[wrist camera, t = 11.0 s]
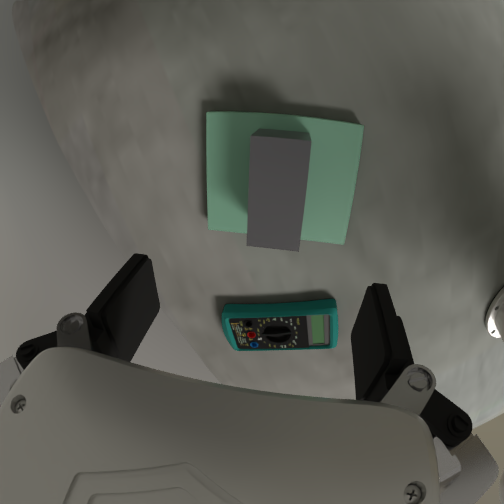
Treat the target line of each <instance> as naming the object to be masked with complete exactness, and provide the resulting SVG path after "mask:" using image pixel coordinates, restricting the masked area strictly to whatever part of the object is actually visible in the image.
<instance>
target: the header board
mask: <svg viewBox="0 0 504 504" xmlns="http://www.w3.org/2000/svg"><path fill="white" fill-rule="evenodd" d="M259 128H260V129H275V130H286V131H297V132H306V133H310V137H311V141H312V142H311V153H310V163H309V172H308V181H307V190H306V199H305V207H304V215H303V223H302V231H301V238H300V239H301V240H309V241H318V242H326V243H335V244H343V245H344V242H345V237H346V233H347V228H348V223H349V218H350V213H351V207H352V202H353V196H354V191H355V185H356V179H357V173H358V166H359V160H360V153H361V146H362V138H363V130H364V126H363V125H361V124H357V123H351V122H345V121H339V120H332V119H325V118H317V117H308V116H299V115H289V114H276V113H261V112H237V111H210V112H207V113H206V157H207V209H208V230H218V231H228V232H237V233H247V218H248V190H249V162H250V136H251V135H252V134H253V133H254V132H256V131H257V130H258V129H259Z"/></svg>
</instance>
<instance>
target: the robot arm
mask: <svg viewBox="0 0 504 504" xmlns="http://www.w3.org/2000/svg"><path fill="white" fill-rule="evenodd" d="M159 309H160V303H159V298H158V293H157V288H156V283H155V277H154V272H153V266H152V261H151V259H149V258H148V256H147V255H144V254H137V253H136V254H134V255H133V256H132V257H131V258H130V259H129V260H128V261H127V262H126V263H125V265H124V266H123V267H122V268H121V269H120V271H118V273H117V274H116V275H115V276H114V277H113V278H112V280H111V281H110V282H109V283H108V284H107V286H106V287H105V288H104V289H103V290H102V292H101V293H100V294H99V295H98V297H97V298H96V299H95V300H94V301H93V303H92V304H91V305H90V306H89V308H88V309H87V310H86V311H87V313H86V314H85V316H84V315H83V314H81V313H70V314H67V315H66V316H64V317H62V318H61V320H60V321H59V322H58V324H57V331H55V332H52V333H49V334H46V335H43V336H40V337H37V338H34V339H31V340H28V341H26V342H24V343H23V344H22V345H20V347H19V348H18V350H17V352H16V357H13V356H11V357H9V358H7V359H6V360H4V361H3V362H1V363H0V504H475V503H476V502H477V501H478V500H479V499H480V498H481V496H482V495H483V494H484V493H485V492H486V491H487V490H488V489H489V487H490V486H491V485H492V484H493V483H494V482H495V480H496V478H497V477H498V472H499V471H498V465H497V463H496V461H495V460H494V458H493V457H492V455H491V454H490V453H489V451H488V450H487V448H486V447H485V445H484V444H483V443H482V442H481V440H480V439H479V437H478V436H477V434H476V435H475V436H473V434H472V433H471V431H472V421H471V419H470V417H469V415H468V414H467V413H466V412H464V411H463V410H462V409H460V408H459V407H458V406H456V405H455V404H454V403H453V402H451V401H450V400H449V399H447V398H446V397H445V396H443V395H442V394H441V393H439V392H438V391H437V390H435V386H436V379H435V376H434V374H433V373H432V371H431V370H430V369H428V368H427V367H425V366H423V365H420V364H414V361H413V358H412V354H411V350H410V346H409V343H408V339H407V336H406V332H405V329H404V326H403V322H402V319H401V317H399V316H397V315H396V312H395V309H394V306H393V303H392V299H391V296H390V293H389V290H388V287H387V285H386V284H379V283H373V284H372V286H368V287H367V290H366V293H365V296H364V299H363V302H362V304H361V307H360V310H359V313H358V316H357V319H356V321H355V324H354V327H353V329H352V333H351V344H352V354H353V364H354V376H355V390H356V400H351V399H335V398H322V397H310V396H300V395H290V394H281V393H273V392H266V391H259V390H252V389H246V388H240V387H234V386H228V385H223V384H217V383H212V382H207V381H202V380H198V379H193V378H188V377H184V376H180V375H175V374H172V373H168V372H164V371H160V370H156V369H152V368H149V367H145V366H141V365H138V364H134V363H131V362H130V361H131V360H132V358H133V356H134V354H135V352H136V351H137V349H138V347H139V345H140V343H141V341H142V340H143V338H144V336H145V334H146V333H147V331H148V329H149V328H150V326H151V324H152V322H153V320H154V319H155V317H156V315H157V314H158V312H159ZM485 325H486V328H487V331H488V333H489V334H490V335H491V336H493V337H497V338H498V337H501V338H502V340H503V342H504V287H503V288H502V289H501V291H500V292H499V293H498V294H497V296H496V297H495V298H494V300H493V302H492V303H491V305H490V307H489V310H488V312H487V315H486V320H485ZM439 477H440V482H439ZM407 485H408V486H407ZM499 496H500V504H504V470H503V472H502V474H501V477H500V482H499Z"/></svg>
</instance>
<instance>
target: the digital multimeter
mask: <svg viewBox="0 0 504 504" xmlns="http://www.w3.org/2000/svg"><path fill="white" fill-rule="evenodd" d="M284 316H285V317H284ZM230 326H231V327H230ZM222 328H223V332H224V334H225V337H226V338H227V340H228V342H229V343H230V345H231V346H232V348H233V349H234V350H237V351H263V350H302V349H330V348H335V347H336V345H337V339H338V315H337V305H336V300H335V299H323V300H313V301H304V302H290V303H275V304H226V305H225V306H224V309H223V312H222ZM231 329H232V330H231ZM262 330H263V331H262ZM232 332H233V333H232Z"/></svg>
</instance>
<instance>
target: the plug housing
mask: <svg viewBox="0 0 504 504" xmlns="http://www.w3.org/2000/svg"><path fill="white" fill-rule="evenodd" d="M311 142H312V141H311V137H310V133H306V132H297V131H286V130H275V129H260V128H259V129H258V130H257V131H256V132H254V133H253V134H252V135H251V136H250V162H249V190H248V218H247V246H255V247H263V248H272V249H281V250H290V251H298V252H299V246H300V238H301V231H302V223H303V215H304V207H305V199H306V190H307V181H308V172H309V163H310V153H311Z"/></svg>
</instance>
